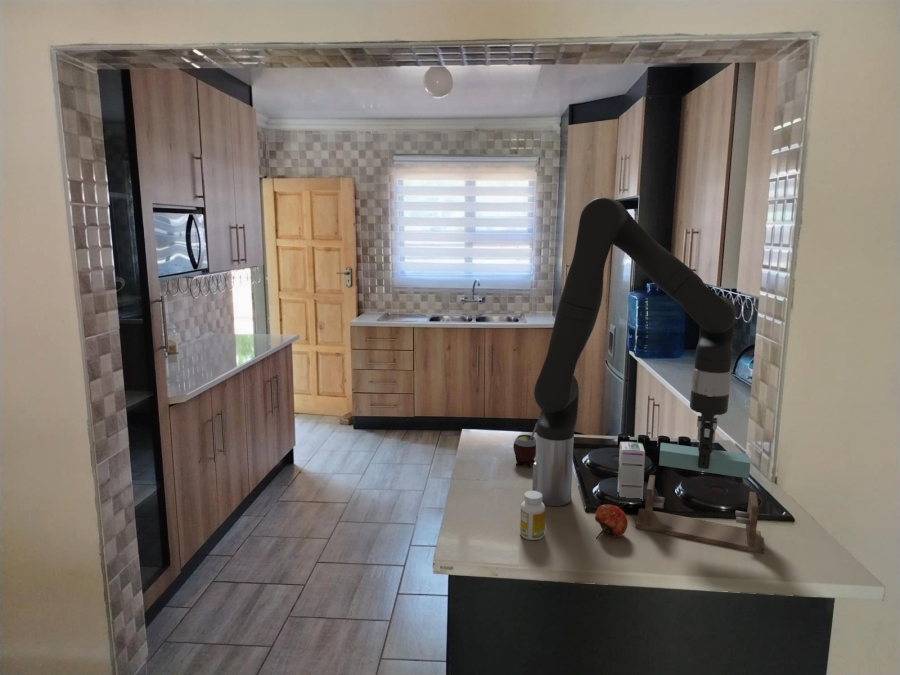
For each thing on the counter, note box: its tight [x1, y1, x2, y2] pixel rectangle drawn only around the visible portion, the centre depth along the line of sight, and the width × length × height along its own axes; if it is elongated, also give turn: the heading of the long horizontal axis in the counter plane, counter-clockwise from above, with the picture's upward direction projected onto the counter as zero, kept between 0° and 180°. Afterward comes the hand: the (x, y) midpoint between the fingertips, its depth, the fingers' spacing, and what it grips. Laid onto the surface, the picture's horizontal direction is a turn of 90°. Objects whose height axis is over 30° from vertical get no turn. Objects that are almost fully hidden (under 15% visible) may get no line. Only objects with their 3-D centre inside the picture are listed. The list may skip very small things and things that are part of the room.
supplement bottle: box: [519, 490, 546, 541], centre depth 127 cm, size 5×5×10 cm
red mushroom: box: [594, 503, 629, 539], centre depth 128 cm, size 7×7×10 cm
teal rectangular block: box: [658, 442, 751, 479], centre depth 126 cm, size 18×5×4 cm, turn 68°
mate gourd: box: [512, 422, 537, 469], centre depth 165 cm, size 8×8×15 cm
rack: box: [635, 474, 765, 554], centre depth 129 cm, size 26×8×10 cm, turn 66°
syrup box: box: [617, 441, 646, 500], centre depth 143 cm, size 6×6×14 cm
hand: (703, 462), depth 126 cm, fingers closed on teal rectangular block, 5 cm apart
